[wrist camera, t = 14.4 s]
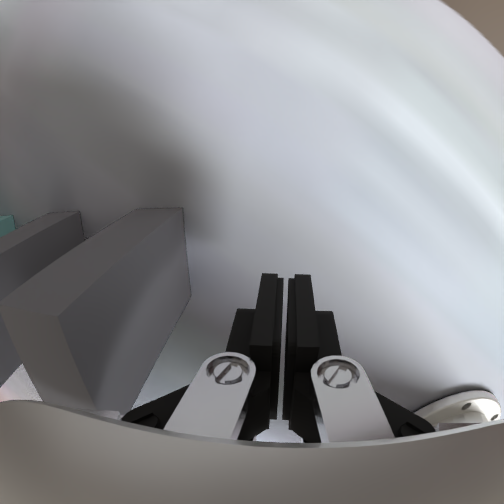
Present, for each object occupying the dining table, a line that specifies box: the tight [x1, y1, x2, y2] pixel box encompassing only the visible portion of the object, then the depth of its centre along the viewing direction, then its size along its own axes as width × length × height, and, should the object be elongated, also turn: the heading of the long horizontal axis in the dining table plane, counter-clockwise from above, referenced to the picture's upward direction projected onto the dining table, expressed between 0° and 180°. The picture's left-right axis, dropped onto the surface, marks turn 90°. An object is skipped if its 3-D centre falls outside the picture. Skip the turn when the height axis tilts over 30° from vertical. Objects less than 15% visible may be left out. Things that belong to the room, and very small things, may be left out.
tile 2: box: [0, 208, 191, 415], centre depth 12 cm, size 3×5×10 cm, turn 1°
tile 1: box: [0, 211, 85, 387], centre depth 13 cm, size 3×5×10 cm, turn 1°
